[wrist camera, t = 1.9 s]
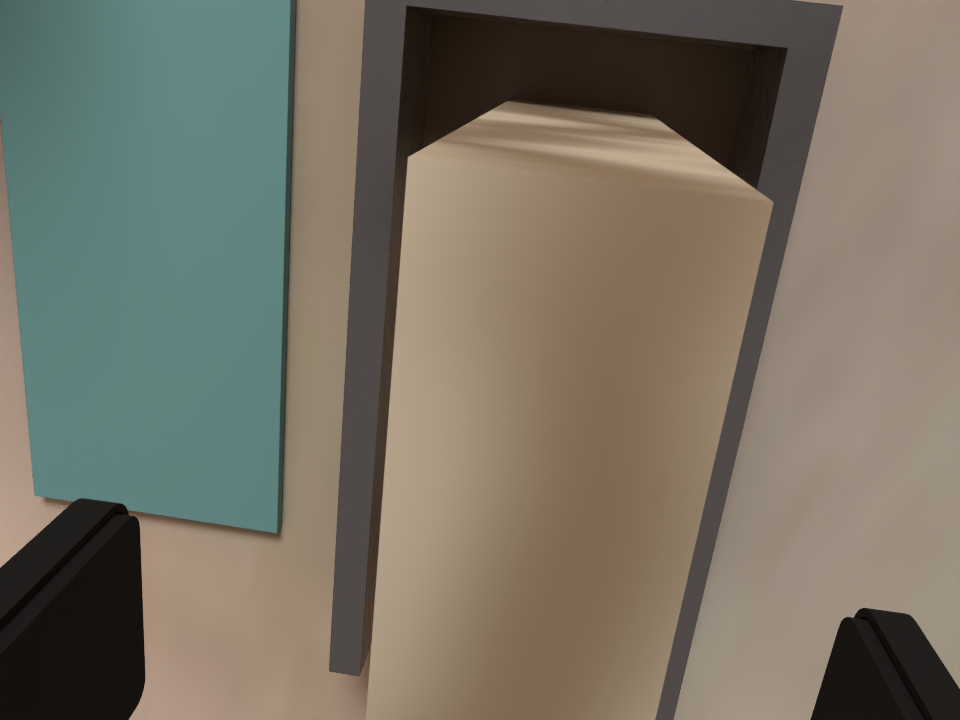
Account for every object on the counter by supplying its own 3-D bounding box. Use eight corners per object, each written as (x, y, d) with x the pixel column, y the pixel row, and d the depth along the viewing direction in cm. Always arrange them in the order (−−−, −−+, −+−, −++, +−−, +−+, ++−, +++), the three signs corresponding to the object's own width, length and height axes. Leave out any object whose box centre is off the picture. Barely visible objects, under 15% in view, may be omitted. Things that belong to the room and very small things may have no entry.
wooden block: (650, 113, 24) (772, 201, 9) (587, 482, 28) (600, 963, 13) (512, 98, 24) (407, 157, 9) (470, 464, 28) (351, 917, 13)
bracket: (799, 15, 23) (843, 5, 19) (659, 644, 30) (671, 728, 26) (401, -28, 23) (367, -45, 20) (359, 596, 31) (329, 671, 27)
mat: (296, -20, 24) (290, -22, 23) (281, 526, 30) (276, 533, 29) (-4, -53, 24) (-15, -55, 24) (42, 488, 31) (34, 495, 30)
